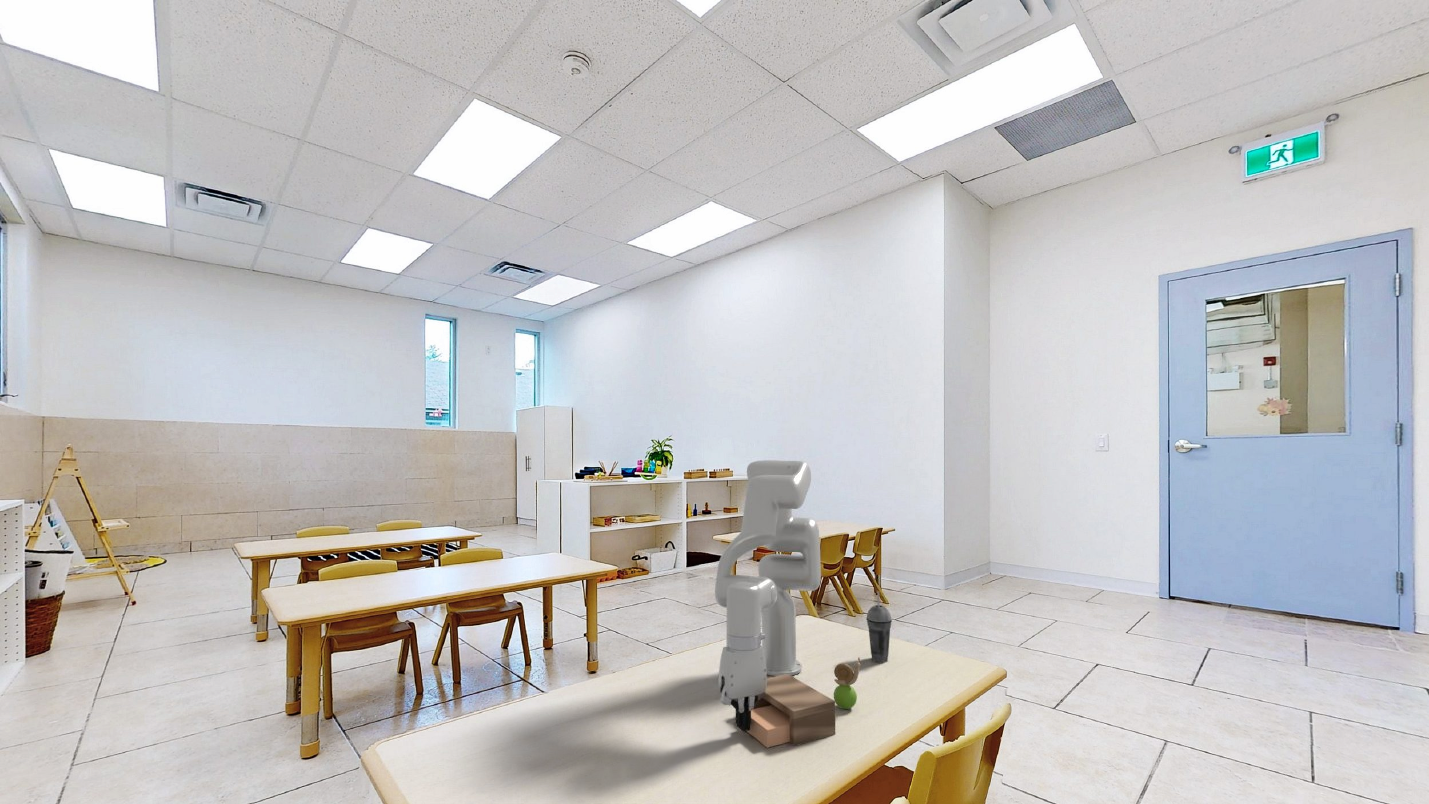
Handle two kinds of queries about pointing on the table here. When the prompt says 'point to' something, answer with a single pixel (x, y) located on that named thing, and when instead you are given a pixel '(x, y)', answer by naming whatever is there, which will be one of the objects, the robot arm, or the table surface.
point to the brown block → (800, 708)
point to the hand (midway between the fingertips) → (743, 728)
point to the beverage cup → (879, 632)
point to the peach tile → (770, 726)
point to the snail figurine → (846, 685)
